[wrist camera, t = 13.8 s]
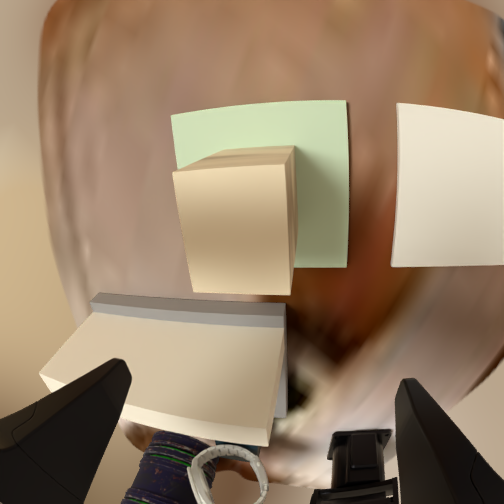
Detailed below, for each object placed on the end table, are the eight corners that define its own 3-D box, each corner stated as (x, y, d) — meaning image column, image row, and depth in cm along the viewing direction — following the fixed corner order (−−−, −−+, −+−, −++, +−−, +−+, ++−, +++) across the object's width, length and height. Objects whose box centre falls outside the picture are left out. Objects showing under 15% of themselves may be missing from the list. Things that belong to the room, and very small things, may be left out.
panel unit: (287, 405, 26) (273, 494, 17) (138, 385, 29) (99, 452, 21) (285, 303, 21) (264, 418, 12) (98, 292, 24) (32, 362, 16)
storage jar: (163, 455, 37) (130, 531, 24) (142, 423, 33) (98, 512, 20) (225, 469, 36) (199, 553, 22) (214, 439, 31) (179, 543, 18)
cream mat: (507, 262, 16) (509, 264, 16) (390, 264, 18) (391, 267, 18) (524, 125, 12) (527, 125, 12) (396, 103, 14) (398, 103, 14)
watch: (203, 407, 28) (169, 496, 19) (280, 418, 27) (262, 516, 17) (209, 432, 31) (181, 510, 21) (277, 443, 29) (261, 527, 20)
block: (298, 229, 18) (290, 295, 12) (232, 230, 19) (193, 292, 13) (294, 145, 16) (284, 164, 10) (223, 149, 17) (172, 172, 10)
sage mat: (346, 264, 19) (346, 267, 18) (196, 263, 21) (194, 266, 20) (344, 100, 15) (345, 100, 14) (173, 115, 17) (170, 115, 16)
